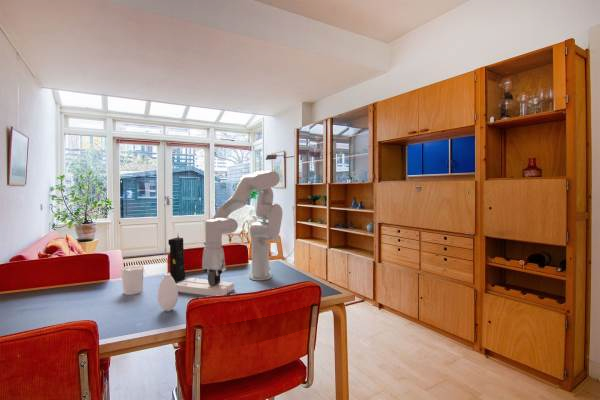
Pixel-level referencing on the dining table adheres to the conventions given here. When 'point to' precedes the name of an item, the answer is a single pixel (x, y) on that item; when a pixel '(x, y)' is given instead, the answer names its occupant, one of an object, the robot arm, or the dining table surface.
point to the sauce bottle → (167, 293)
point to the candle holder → (132, 279)
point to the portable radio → (177, 258)
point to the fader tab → (212, 277)
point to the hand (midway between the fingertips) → (214, 282)
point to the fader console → (203, 287)
